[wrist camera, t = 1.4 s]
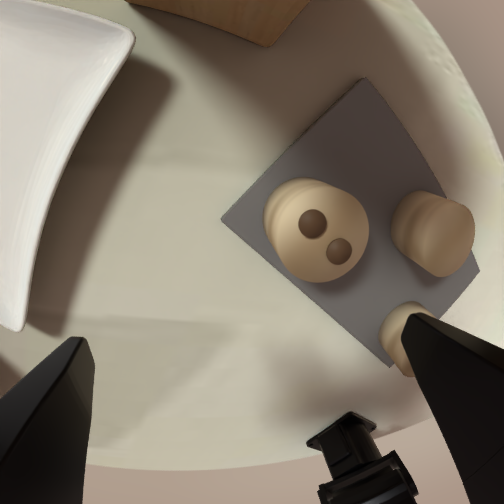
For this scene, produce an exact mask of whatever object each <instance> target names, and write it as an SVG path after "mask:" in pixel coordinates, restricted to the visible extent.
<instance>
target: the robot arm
mask: <svg viewBox="0 0 504 504" xmlns="http://www.w3.org/2000/svg"><path fill="white" fill-rule="evenodd" d="M401 343H402V345H403V348H404V350H405V353H406V355H407V357H408V360H409V362H410V365H411V367H412V370H413V372H414V375H415V377H416V380H417V382H418V384H419V386H420V388H421V390H422V392H423V394H424V396H425V398H426V400H427V402H428V405H429V407H430V409H431V411H432V413H433V415H434V417H435V419H436V421H437V423H438V426H439V428H440V430H441V432H442V434H443V437H444V439H445V441H446V443H447V446H448V448H449V450H450V453H451V455H452V457H453V460H454V462H455V465H456V467H457V469H458V471H459V475H460V477H461V479H462V482H463V485H464V488H465V491H466V493H467V496H468V499H469V501H470V504H504V349H502V348H500V347H498V346H495V345H493V344H491V343H489V342H487V341H484V340H482V339H480V338H478V337H476V336H474V335H471V334H469V333H467V332H465V331H463V330H460V329H458V328H456V327H454V326H452V325H449V324H447V323H445V322H443V321H440V320H438V319H436V318H434V317H432V316H429V315H427V314H425V313H422V312H417V313H412V314H410V315H409V316H408V318H407V321H406V323H405V326H404V328H403V331H402V333H401ZM94 373H95V363H94V359H93V356H92V353H91V351H90V348H89V345H88V342H87V340H86V338H84V337H70V338H68V339H67V340H66V341H65V342H63V343H62V344H61V345H60V346H59V347H58V348H56V349H55V350H54V351H53V352H52V353H51V354H49V355H48V356H47V357H46V358H45V359H44V360H43V361H41V362H40V363H39V364H38V365H37V366H36V367H35V368H34V369H32V370H31V371H30V372H29V373H28V374H27V375H26V376H25V377H24V378H22V379H21V380H20V381H19V382H18V383H17V384H16V385H15V386H14V387H13V388H11V389H10V390H9V391H8V392H7V393H6V394H5V395H4V396H3V397H2V398H1V399H0V504H82V500H83V486H84V474H85V464H86V456H87V447H88V440H89V433H90V426H91V417H92V400H93V385H94ZM376 427H377V426H376V424H374V423H372V422H370V421H368V420H366V419H364V418H363V417H361V416H359V415H357V414H355V413H353V412H350V413H348V414H346V415H345V416H343V417H342V418H341V419H339V420H338V421H336V422H335V423H334V424H332V425H331V426H329V427H328V428H327V429H325V430H324V431H322V432H321V433H319V434H318V435H316V436H315V437H313V438H312V439H310V440H309V441H307V442H306V444H307V447H310V448H313V449H316V450H319V451H322V453H323V455H324V457H325V460H326V463H327V465H328V468H329V470H330V473H331V476H332V478H333V481H330V482H328V483H325V484H321V485H319V489H320V490H318V491H317V492H318V496H319V499H320V502H321V504H417V503H416V501H415V499H414V497H415V496H417V495H418V490H417V487H416V485H415V483H414V481H413V479H412V477H411V475H410V474H409V472H408V470H407V469H406V467H405V466H404V464H403V462H402V461H401V459H400V458H399V456H398V454H397V453H396V451H395V450H393V451H391V452H390V453H389V454H387V455H385V456H383V457H382V456H381V454H380V452H379V450H378V448H377V446H376V444H375V443H374V440H373V439H372V437H371V435H370V432H372V431H373V430H375V429H376ZM393 469H394V470H393Z"/></svg>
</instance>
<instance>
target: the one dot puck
mask: <svg viewBox="0 0 504 504" xmlns="http://www.w3.org/2000/svg"><path fill="white" fill-rule="evenodd" d="M417 312H422V313H425V314H427V315H429V316H432V317H434V318H436V317H435V316H434V315H432V314H431V313H430V312H429V311H428V310H427V309H426V308H425V307H424V306H423V305H421V304H420V303H419V302H416V301H408V302H405V303H402V304H400V305H399V306H397V307H396V308H394V309H393V310H392V311H391V312H390V313H389V314H388V315H387V316H386V318H385V319H384V321H383V322H382V324H381V326H380V329H379V333H378V340H379V343H380V345H381V346H382V347H383V348H384V350H385V351H386V352H387V354H388V355H389V356H390V358H391V359H392V360H393V361H394V363H395V364H396V365H397V367H398V368H399V369H400V371H401V372H402V373H403V375H405V376H407V377H415V375H414V372H413V370H412V367H411V365H410V362H409V360H408V357H407V355H406V353H405V350H404V348H403V345H402V343H401V333H402V331H403V328H404V326H405V323H406V321H407V318H408V316H409V315H410V314H412V313H417ZM436 319H437V318H436Z"/></svg>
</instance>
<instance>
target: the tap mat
mask: <svg viewBox="0 0 504 504" xmlns="http://www.w3.org/2000/svg"><path fill="white" fill-rule="evenodd" d="M296 177H310V178H314V179H317V180H319V181H322V182H324V183H327V184H329V185H331V186H334V187H336V188H338V189H341V190H343V191H345V192H347V193H349V194H351V195H352V196H353V197H355V198H356V199H357V200H358V201H359V202H360V204H361V205H362V207H363V208H364V210H365V212H366V215H367V218H368V223H369V236H368V242H367V245H366V248H365V250H364V253H363V254H362V256H361V258H360V259H359V261H358V262H357V263H356V265H355V266H354V267H353V268H352V269H351V270H349V271H348V272H347V273H345V274H344V275H342V276H341V277H339V278H337V279H334V280H331V281H328V282H320V283H315V282H308V281H304V280H302V279H299V278H298V277H296V276H294V275H293V274H292V273H290V271H289V270H288V269H287V268H286V267H285V265H284V264H283V262H282V261H281V259H280V258H279V256H278V254H277V253H276V251H275V249H274V248H273V246H272V244H271V243H270V241H269V240H268V238H267V236H266V234H265V231H264V228H263V223H262V214H263V208H264V205H265V203H266V201H267V198H268V197H269V195H270V194H271V193H272V191H273V190H274V189H275V188H276V187H277V186H279V185H280V184H281V183H283V182H285V181H287V180H289V179H292V178H296ZM418 190H422V191H426V192H429V193H432V194H435V195H438V196H440V197H443V198H446V199H447V197H446V196H445V194H444V192H443V190H442V188H441V186H440V185H439V183H438V181H437V179H436V177H435V176H434V174H433V172H432V171H431V169H430V167H429V165H428V164H427V162H426V160H425V159H424V157H423V156H422V154H421V152H420V151H419V149H418V148H417V146H416V145H415V143H414V141H413V140H412V138H411V137H410V135H409V134H408V132H407V131H406V130H405V128H404V127H403V125H402V124H401V122H400V121H399V120H398V118H397V117H396V115H395V114H394V113H393V111H392V110H391V108H390V107H389V106H388V104H387V103H386V102H385V101H384V99H383V98H382V97H381V95H380V94H379V93H378V91H377V90H376V89H375V88H374V86H373V85H372V84H371V83H370V82H369V80H368V79H367V78H366V77H365V78H361V79H360V80H359V81H358V82H357V83H356V84H355V85H354V86H353V87H352V88H351V89H349V90H348V91H347V92H346V93H345V94H344V95H343V96H342V97H341V98H340V99H339V100H338V101H337V102H336V103H335V104H333V105H332V106H331V107H330V108H329V109H328V110H327V111H326V112H325V113H324V114H323V115H322V116H321V117H320V118H319V119H318V120H317V121H316V122H315V123H314V124H313V125H312V126H311V127H310V128H309V129H307V130H306V131H305V132H304V133H303V134H302V135H301V136H300V137H299V138H298V139H297V140H296V141H295V142H294V143H293V144H292V145H291V146H290V147H289V148H288V149H287V150H286V151H285V152H284V153H283V154H282V155H281V156H280V157H279V158H278V159H277V160H276V161H275V162H274V163H273V164H272V165H271V166H270V167H269V168H268V169H267V170H266V171H265V172H264V174H263V175H262V176H261V177H260V178H259V179H258V180H257V181H256V182H255V183H254V184H253V185H252V186H251V187H250V188H249V189H248V190H247V191H246V192H245V193H244V194H243V195H242V196H241V197H240V198H239V199H238V201H237V202H236V203H235V204H234V205H233V206H232V207H231V208H230V209H229V210H228V211H227V212H226V213H225V214H224V215H223V216H222V218H221V221H222V222H223V223H224V224H225V225H226V226H228V227H229V228H230V229H231V230H232V231H233V232H234V233H236V234H237V235H238V236H239V237H240V238H241V239H243V240H244V241H245V242H246V243H247V244H248V245H249V246H251V247H252V248H253V249H254V250H255V251H256V252H258V253H259V254H260V255H261V256H262V257H263V258H264V259H266V260H267V261H268V262H269V263H270V264H271V265H272V266H274V267H275V268H276V269H277V270H278V271H279V272H280V273H282V274H283V275H284V276H285V277H286V278H287V279H289V280H290V281H291V282H292V283H293V284H294V285H295V286H297V287H298V288H299V289H300V290H301V291H302V292H303V293H305V294H306V295H307V296H308V297H309V298H310V299H311V300H313V301H314V302H315V303H316V304H317V305H318V306H319V307H321V308H322V309H323V310H324V311H325V312H326V313H327V314H329V315H330V316H331V317H332V318H333V319H334V320H335V321H337V322H338V323H339V324H340V325H341V326H342V327H343V328H345V329H346V330H347V331H348V332H349V333H350V334H351V335H353V336H354V337H355V338H356V339H357V340H358V341H359V342H361V343H362V344H363V345H364V346H365V347H366V348H367V349H369V350H370V351H371V352H372V353H373V354H374V355H375V356H377V357H378V358H379V359H380V360H381V361H382V362H383V363H385V364H386V365H387V366H388V367H389V368H390V367H391V366H392V365H393V364H394V361H393V360H392V359H391V358H390V356H389V355H388V354H387V352H386V351H385V350H384V348H383V347H382V346H381V345H380V343H379V340H378V333H379V329H380V326H381V324H382V322H383V321H384V319H385V318H386V316H387V315H388V314H389V313H390V312H391V311H392V310H393V309H394V308H396V307H397V306H399V305H400V304H402V303H405V302H408V301H416V302H419V303H420V304H421V305H423V306H424V307H425V308H426V309H427V310H428V311H429V312H430V313H431V314H432V315H434V316H435V317H436V318H437V319H438V320H439V319H440V318H441V317H442V316H443V314H444V313H445V312H446V311H447V310H448V309H449V308H450V307H451V306H452V304H453V303H454V302H455V301H456V300H457V299H458V297H459V296H460V295H461V294H462V293H463V292H464V290H465V289H466V288H467V287H468V285H469V284H470V283H471V282H472V281H473V279H474V278H475V277H476V275H477V274H478V273H479V272H480V270H479V267H478V265H477V262H476V260H475V257H474V255H473V253H472V250H471V251H470V253H469V255H468V257H467V259H466V260H465V262H464V263H463V265H462V266H461V267H460V268H459V269H458V270H457V271H455V272H454V273H452V274H451V275H448V276H445V277H437V276H434V275H433V274H431V273H430V272H428V271H427V270H426V269H424V268H423V267H421V266H420V265H419V264H417V263H416V262H414V261H413V260H411V259H410V258H409V257H407V256H406V255H404V254H403V253H401V252H400V251H399V250H398V249H397V248H396V247H395V245H394V243H393V241H392V238H391V220H392V216H393V213H394V211H395V209H396V207H397V205H398V204H399V202H400V201H401V200H402V199H403V198H404V197H405V196H406V195H408V194H409V193H411V192H414V191H418Z"/></svg>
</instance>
